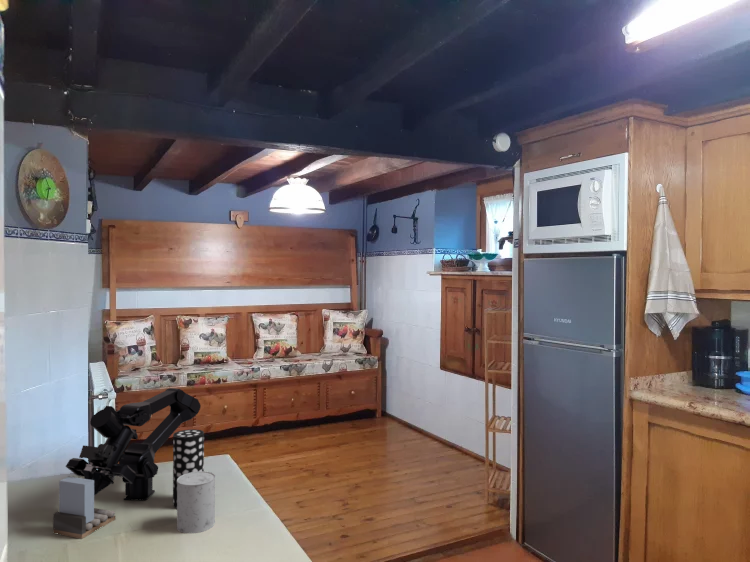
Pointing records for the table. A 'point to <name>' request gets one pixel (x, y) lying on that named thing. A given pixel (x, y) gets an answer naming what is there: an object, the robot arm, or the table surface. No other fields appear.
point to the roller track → (80, 523)
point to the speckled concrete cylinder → (195, 502)
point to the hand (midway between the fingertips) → (83, 502)
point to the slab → (77, 497)
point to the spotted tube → (187, 455)
